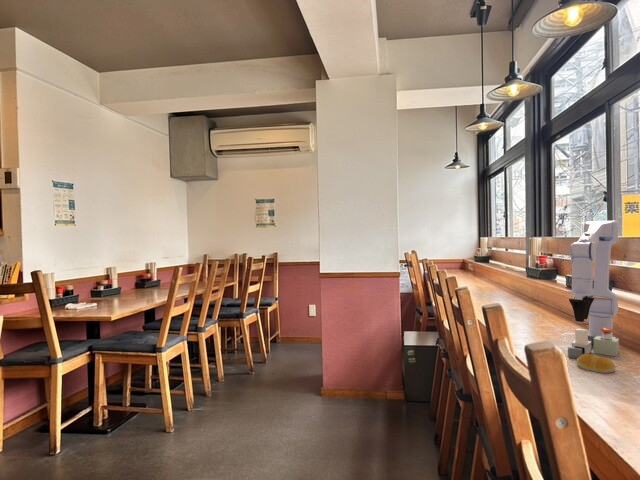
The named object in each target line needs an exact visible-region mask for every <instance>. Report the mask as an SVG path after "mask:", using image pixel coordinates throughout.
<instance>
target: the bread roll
mask: <svg viewBox="0 0 640 480" xmlns="http://www.w3.org/2000/svg"><path fill="white" fill-rule="evenodd" d="M575 364H576V366H577V367H578V368H580V369H583V370H587V371H593V372H596V373H600V374H610V373H615V371H616V364H615V362H614V361H613V360H611V359H609V357H604V356H596V355H594V354H591V353H589V354H585V353H584V354H583V355H581V356H580V357H579V358H578V359H576V362H575Z"/></svg>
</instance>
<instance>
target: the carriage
mask: <svg viewBox="0 0 640 480" xmlns="http://www.w3.org/2000/svg"><path fill="white" fill-rule="evenodd" d="M574 331H575V332H574V333H575V334H574V335H575V336H574V340H573V341H572V342H571V348H576V347H577V346H578V347H584V348H585V353H584V354H591V352H592V346H591V341H588V336H589V329H584V328H576V329H575V330H574Z"/></svg>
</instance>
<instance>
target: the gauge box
mask: <svg viewBox="0 0 640 480" xmlns="http://www.w3.org/2000/svg"><path fill="white" fill-rule="evenodd" d="M593 353H594V354H599V355H605V356H612V357H617V356H618V354H619V353H620V338H617V337H616V338H611V340H604V339H602V336H596V337H595V338H594V345H593Z"/></svg>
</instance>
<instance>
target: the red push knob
mask: <svg viewBox="0 0 640 480" xmlns="http://www.w3.org/2000/svg"><path fill="white" fill-rule="evenodd" d="M600 331H602V339H604V340H611V332H614V330H613V329H610V328H600Z"/></svg>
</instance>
